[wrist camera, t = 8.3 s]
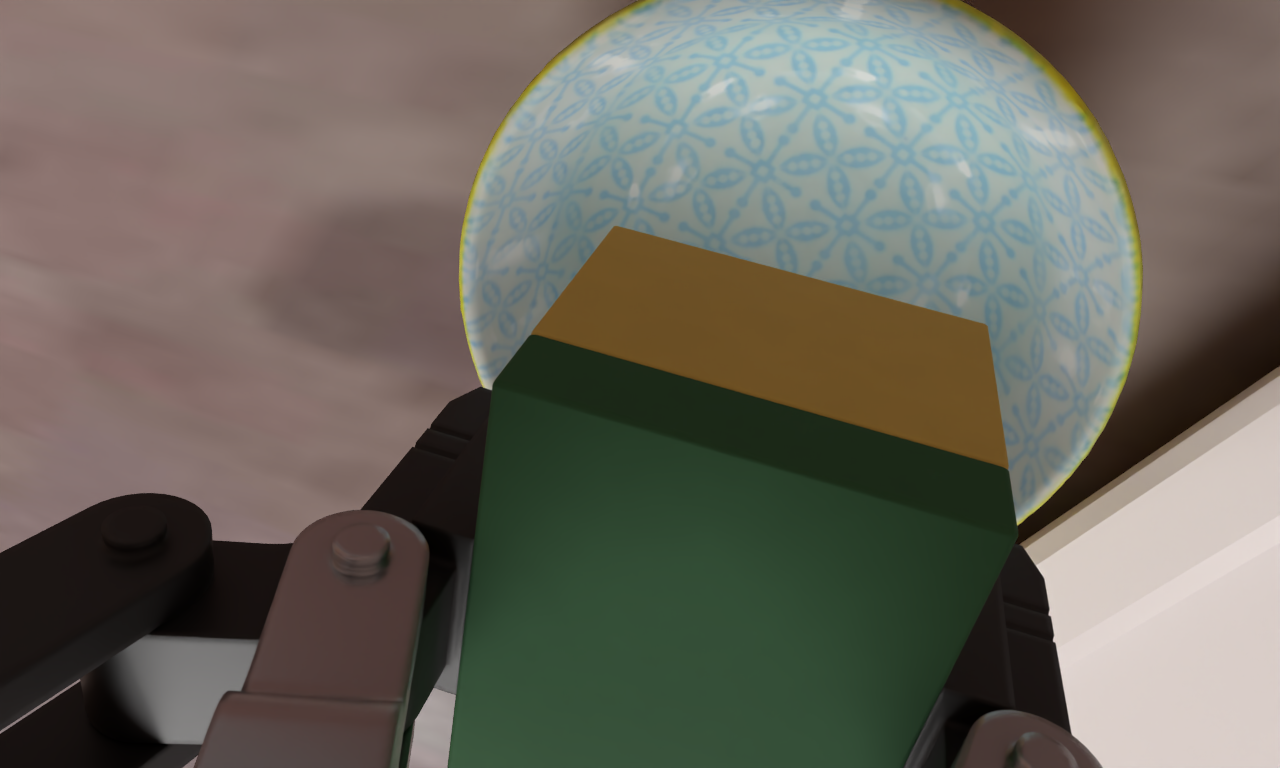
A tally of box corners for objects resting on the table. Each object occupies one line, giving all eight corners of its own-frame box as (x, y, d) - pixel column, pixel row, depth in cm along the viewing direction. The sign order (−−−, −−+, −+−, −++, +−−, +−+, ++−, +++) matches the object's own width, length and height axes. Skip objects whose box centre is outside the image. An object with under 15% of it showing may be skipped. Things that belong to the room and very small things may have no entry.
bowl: (1203, 244, 20) (1306, 389, 15) (777, 506, 26) (742, 678, 20) (850, -214, 18) (823, -235, 12) (467, 185, 23) (338, 287, 18)
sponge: (614, 223, 12) (491, 380, 8) (989, 323, 11) (1021, 535, 8) (549, 589, 15) (440, 813, 11) (841, 681, 14) (818, 944, 11)
